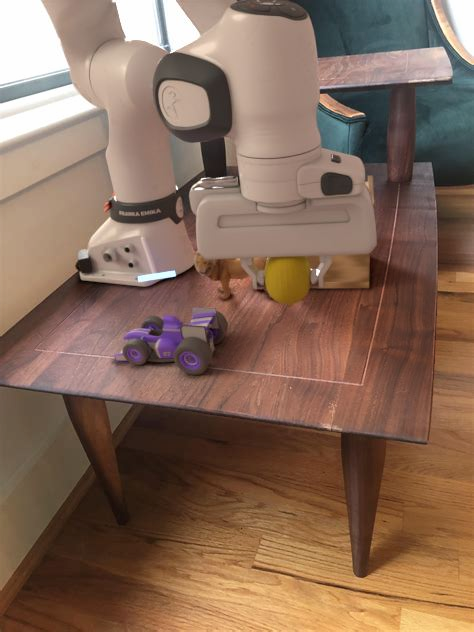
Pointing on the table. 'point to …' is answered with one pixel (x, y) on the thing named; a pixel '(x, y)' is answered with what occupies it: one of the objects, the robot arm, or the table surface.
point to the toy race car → (176, 340)
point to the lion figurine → (224, 270)
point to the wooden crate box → (346, 264)
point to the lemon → (287, 278)
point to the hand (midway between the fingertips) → (288, 286)
